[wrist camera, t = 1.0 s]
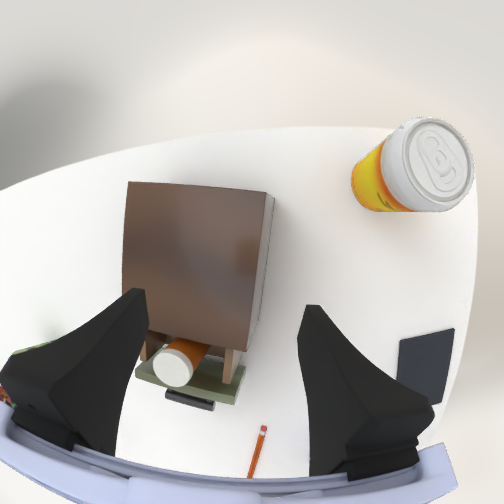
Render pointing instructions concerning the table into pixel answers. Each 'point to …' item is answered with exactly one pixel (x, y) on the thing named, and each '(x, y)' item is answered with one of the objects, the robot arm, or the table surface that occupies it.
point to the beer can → (415, 169)
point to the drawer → (196, 374)
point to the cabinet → (198, 259)
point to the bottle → (179, 361)
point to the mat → (426, 363)
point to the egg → (6, 398)
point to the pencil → (257, 451)
